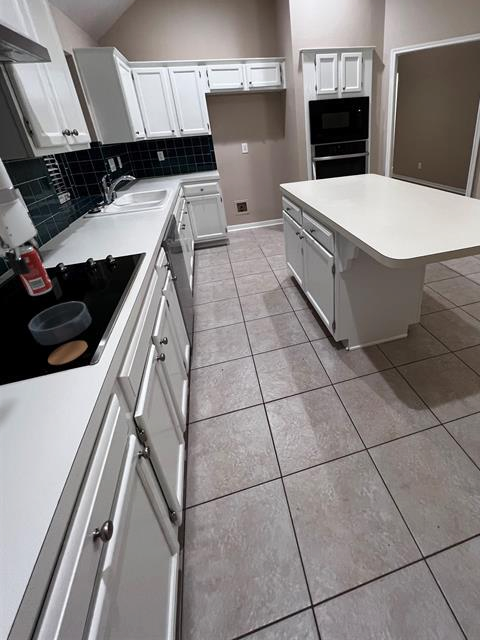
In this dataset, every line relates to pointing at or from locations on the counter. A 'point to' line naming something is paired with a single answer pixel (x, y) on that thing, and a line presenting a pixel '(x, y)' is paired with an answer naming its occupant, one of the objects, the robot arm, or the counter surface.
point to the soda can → (34, 272)
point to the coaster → (67, 352)
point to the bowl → (60, 323)
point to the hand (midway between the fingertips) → (30, 267)
